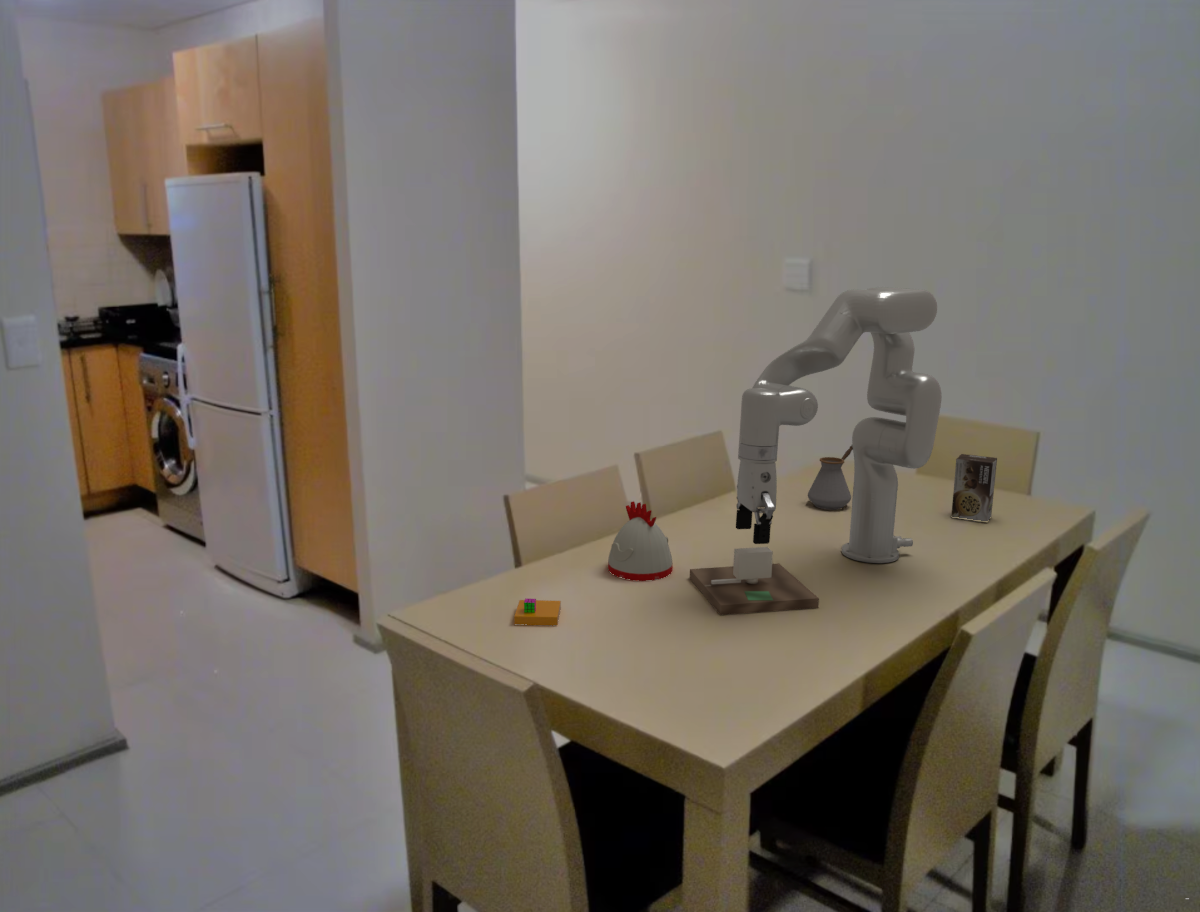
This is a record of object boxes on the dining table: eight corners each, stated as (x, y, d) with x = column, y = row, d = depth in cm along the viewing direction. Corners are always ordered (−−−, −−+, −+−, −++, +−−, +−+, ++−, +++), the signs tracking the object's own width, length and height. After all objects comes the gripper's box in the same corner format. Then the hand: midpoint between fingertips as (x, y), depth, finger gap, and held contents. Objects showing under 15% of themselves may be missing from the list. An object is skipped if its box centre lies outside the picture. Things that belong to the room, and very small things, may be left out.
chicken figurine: (638, 554, 208) (640, 490, 204) (685, 570, 198) (687, 503, 195) (594, 569, 198) (595, 502, 195) (641, 586, 188) (642, 516, 185)
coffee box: (991, 518, 238) (998, 457, 234) (987, 524, 233) (994, 462, 229) (955, 512, 243) (961, 453, 239) (949, 518, 237) (955, 457, 234)
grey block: (765, 577, 187) (767, 546, 186) (770, 583, 184) (772, 551, 183) (709, 581, 185) (710, 550, 183) (714, 587, 182) (715, 555, 180)
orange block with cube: (519, 610, 177) (519, 589, 176) (560, 611, 176) (560, 590, 175) (514, 627, 169) (514, 605, 168) (557, 628, 169) (557, 606, 168)
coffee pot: (839, 514, 239) (843, 458, 236) (799, 506, 246) (802, 452, 243) (871, 497, 256) (876, 445, 252) (833, 490, 263) (836, 439, 259)
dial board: (778, 572, 197) (779, 562, 197) (818, 607, 178) (819, 597, 177) (689, 578, 193) (689, 568, 193) (720, 615, 174) (720, 604, 174)
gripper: (793, 461, 171) (786, 548, 175) (759, 442, 188) (754, 523, 191) (755, 462, 170) (749, 550, 173) (724, 443, 186) (719, 524, 190)
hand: (752, 535), depth 182 cm, fingers open, 9 cm apart
